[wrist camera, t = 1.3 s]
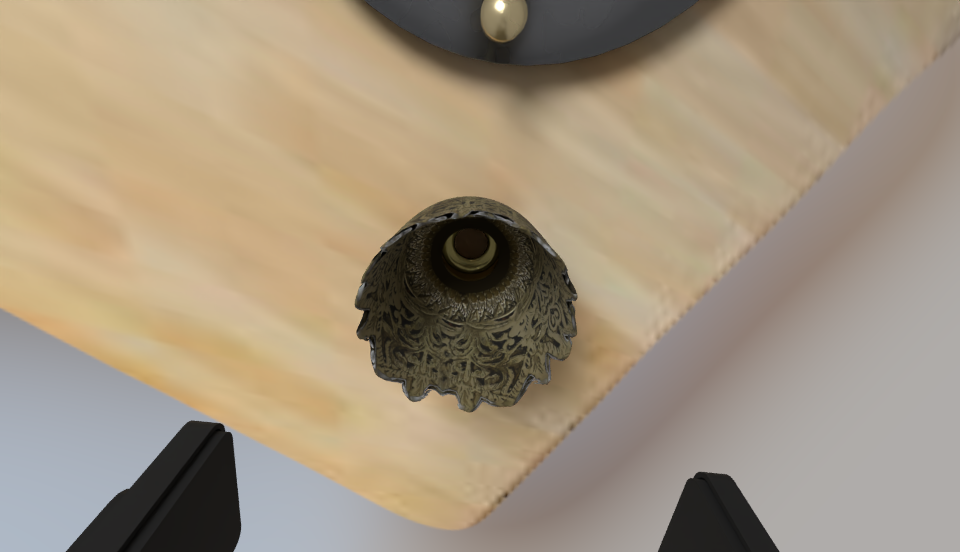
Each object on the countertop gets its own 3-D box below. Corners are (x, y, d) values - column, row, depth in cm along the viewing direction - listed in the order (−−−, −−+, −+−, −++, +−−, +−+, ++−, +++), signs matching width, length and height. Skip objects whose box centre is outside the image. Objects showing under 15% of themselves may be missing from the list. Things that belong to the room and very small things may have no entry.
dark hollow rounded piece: (570, 193, 21) (617, 256, 14) (518, 324, 24) (535, 434, 17) (415, 144, 21) (379, 185, 13) (380, 287, 23) (335, 385, 16)
